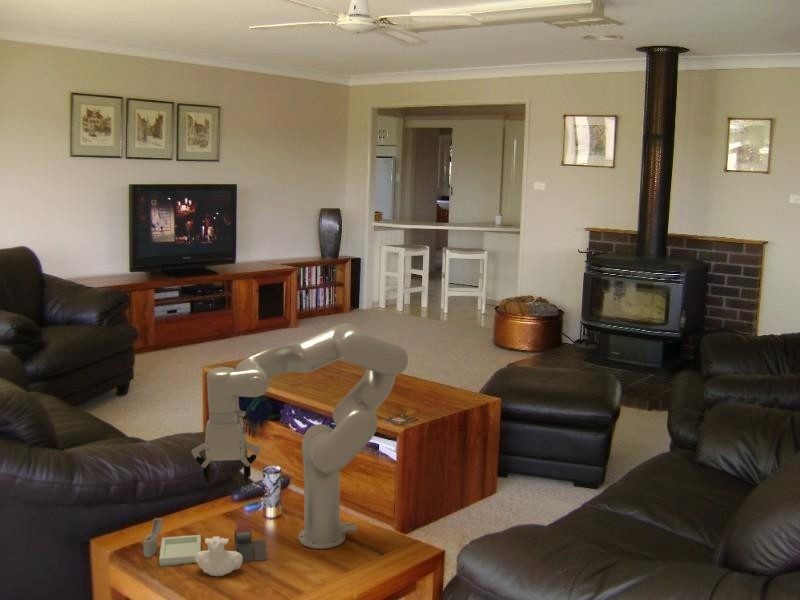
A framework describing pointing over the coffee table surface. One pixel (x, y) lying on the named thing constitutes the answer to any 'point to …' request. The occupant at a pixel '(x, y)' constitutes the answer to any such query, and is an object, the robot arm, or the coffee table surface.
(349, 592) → the coffee table surface
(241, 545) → the bracket
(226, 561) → the white rounded irregular piece
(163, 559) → the tray
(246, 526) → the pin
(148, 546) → the lighter
